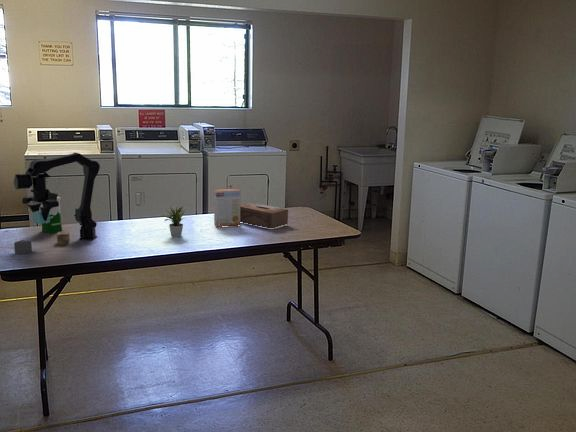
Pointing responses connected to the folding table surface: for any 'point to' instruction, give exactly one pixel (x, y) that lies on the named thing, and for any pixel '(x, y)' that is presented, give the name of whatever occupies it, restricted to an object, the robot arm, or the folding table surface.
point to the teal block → (39, 217)
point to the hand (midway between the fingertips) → (41, 219)
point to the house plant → (175, 222)
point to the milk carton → (53, 219)
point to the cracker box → (226, 207)
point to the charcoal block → (23, 247)
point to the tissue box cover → (263, 215)
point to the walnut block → (63, 238)
